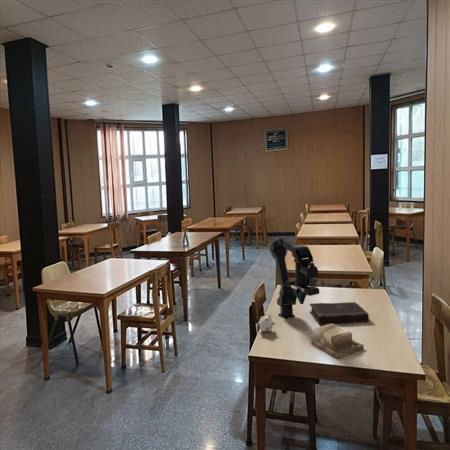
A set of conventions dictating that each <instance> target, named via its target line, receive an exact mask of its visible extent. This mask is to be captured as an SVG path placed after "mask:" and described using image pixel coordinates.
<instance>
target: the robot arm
mask: <svg viewBox="0 0 450 450" xmlns="http://www.w3.org/2000/svg"><path fill="white" fill-rule="evenodd" d="M287 251H289V252H290V253H291V256H292V257H293V258H294V259H293V262H294V263H295V265H294V266H295V267H294V268H295V270H294V271H295V274H293V277H294V278H292V279H290V278H289V273H288V268H287V262H286V256H287V253H288V252H287ZM269 252H270V254H271V257H272V258H273V259H274V260H275V263H276V268H277V272H278V278H279V284H280V290H279V292H278V294H279V295H278V296H279V297H278V298H277V299H276V304H277V306H279V308H280V313H278V316H279V317H282V318H283V319H290V318H293V317H295V316H296V315H295V314H294V312H293V311H294V308H293V306H296V304H297V300H298V302H299V304H300V305H304V302H305V300H306V297H307V296H309V297H311V296H315V295H319V294H320V288H319V287H317V284H318V280H319V279H318V278H316V277H317V276H318V274H319V270H318V267H317V266H315V263H314V261H315V260H314V257H313V254H312V253H311V249H310V248H309V247H308V246H306V245H304V244H303V245H302V244H298V243H296V242H295V241H293V240H291V239H290V238H289V237H287V236H283V237H279V238H278V239H277V240H274V241H273V242H272V243H271V244H270V247H269Z"/></svg>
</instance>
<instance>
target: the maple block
mask: <svg viewBox="0 0 450 450" xmlns="http://www.w3.org/2000/svg"><path fill="white" fill-rule="evenodd" d="M314 340H315V341H317V342H319V343H320V344H322V345H324V346H326V347H328V348H329V349H331V350H333V351H335V352H337V351H340V350H343V349H345V348H348V347H351V346H352V340H353V333H352V332H351V331H348V330H346V329H344V328H342V327H340V326H339V325H337V324H332V323H331V324H324V325H322V326H318V327H315V328H314Z"/></svg>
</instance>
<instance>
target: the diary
mask: <svg viewBox="0 0 450 450" xmlns="http://www.w3.org/2000/svg"><path fill="white" fill-rule="evenodd" d="M309 305H310V307H311V310H309V314H310V315H311V316H312V318H313V319H314V320H315V322H316V323H317V324H318V325H322V326H324V325H328V324H331V323H332V324H334V325H337V324H352V323H369V319H370V316H369V312H367V311H366V310H365V309H364V308H363V307H362V306H361V305H360V304H358V303H357V302H356V301H354V302H353V301H351V302H334V303H333V302H331V303H330V302H317V303H309Z"/></svg>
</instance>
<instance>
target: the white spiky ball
mask: <svg viewBox="0 0 450 450" xmlns="http://www.w3.org/2000/svg"><path fill="white" fill-rule="evenodd" d="M273 321H274V320H273V319H272V318H271V314H269V315H265V316H262V315H259V320H258V322H257V325H258V327H259V329H260V334H262V333H263V332H270V333H272V332H273V331H272V329H273V326H274V325H276V323H275V322H273Z"/></svg>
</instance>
